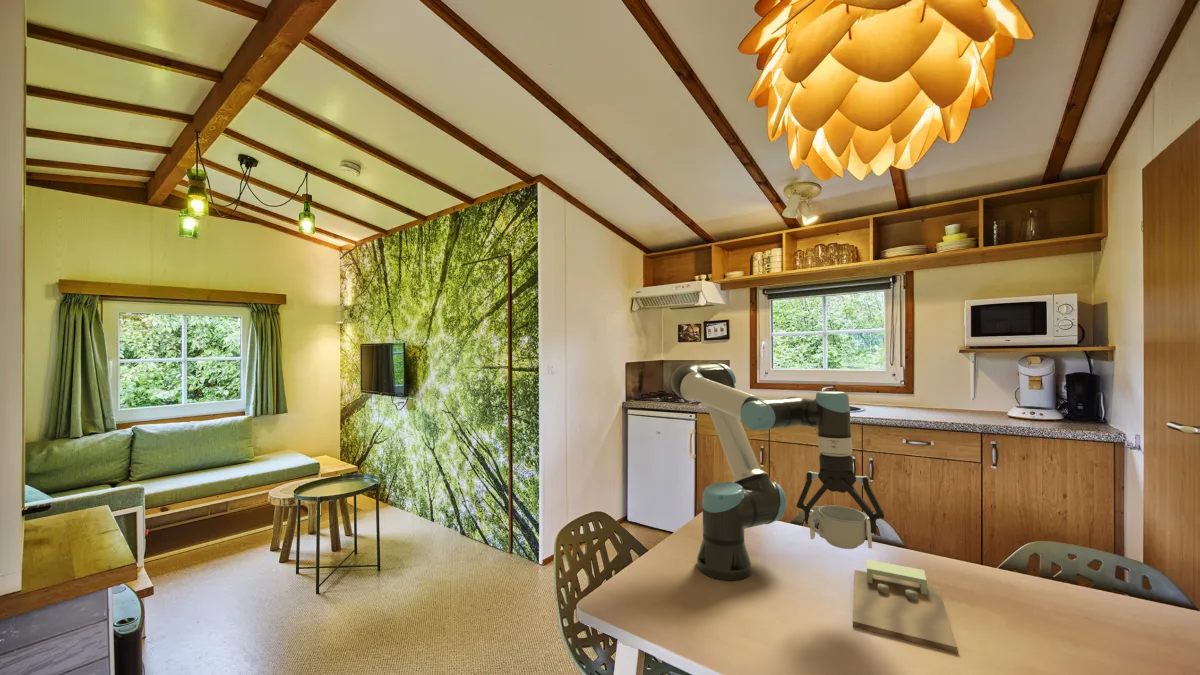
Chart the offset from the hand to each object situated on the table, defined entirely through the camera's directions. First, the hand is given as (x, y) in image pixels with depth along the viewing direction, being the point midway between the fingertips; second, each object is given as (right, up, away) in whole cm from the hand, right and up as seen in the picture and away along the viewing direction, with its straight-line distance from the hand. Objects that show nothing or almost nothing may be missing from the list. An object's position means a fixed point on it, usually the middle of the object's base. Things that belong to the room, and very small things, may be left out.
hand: (840, 541), depth 114 cm
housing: (+18, -14, +7) cm, 24 cm away
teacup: (-1, -1, +1) cm, 1 cm away
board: (+13, -15, -2) cm, 20 cm away
